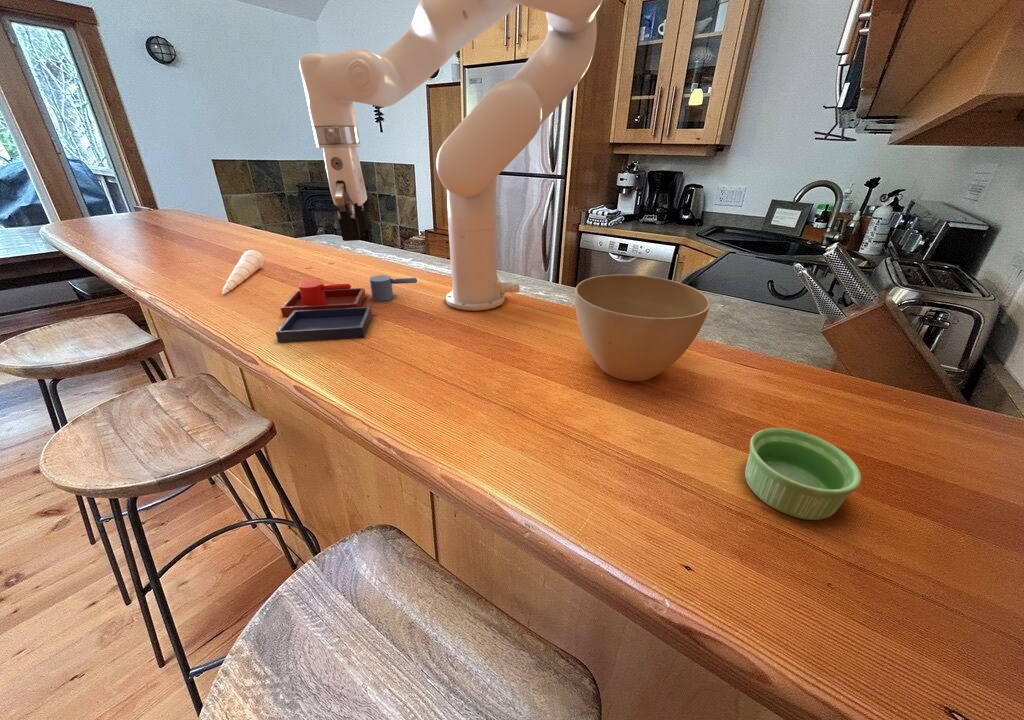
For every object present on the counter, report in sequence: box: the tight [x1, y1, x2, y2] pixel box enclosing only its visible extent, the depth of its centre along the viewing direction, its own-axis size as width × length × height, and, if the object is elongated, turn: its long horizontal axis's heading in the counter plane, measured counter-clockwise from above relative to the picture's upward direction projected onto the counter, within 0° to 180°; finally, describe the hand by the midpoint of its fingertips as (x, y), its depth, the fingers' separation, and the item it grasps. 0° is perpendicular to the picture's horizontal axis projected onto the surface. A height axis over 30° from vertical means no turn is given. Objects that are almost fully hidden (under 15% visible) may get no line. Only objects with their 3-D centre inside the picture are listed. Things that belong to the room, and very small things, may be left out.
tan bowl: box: [574, 273, 711, 382], centre depth 60 cm, size 18×18×12 cm
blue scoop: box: [369, 274, 418, 302], centre depth 90 cm, size 10×4×4 cm, turn 99°
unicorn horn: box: [221, 249, 265, 295], centre depth 100 cm, size 5×24×5 cm, turn 9°
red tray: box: [280, 287, 367, 318], centre depth 86 cm, size 14×10×2 cm
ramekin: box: [744, 427, 862, 521], centre depth 40 cm, size 9×9×4 cm
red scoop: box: [298, 280, 352, 306], centre depth 85 cm, size 10×4×4 cm, turn 99°
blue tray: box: [275, 306, 373, 343], centre depth 75 cm, size 14×10×2 cm
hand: (356, 235), depth 83 cm, fingers open, 9 cm apart
